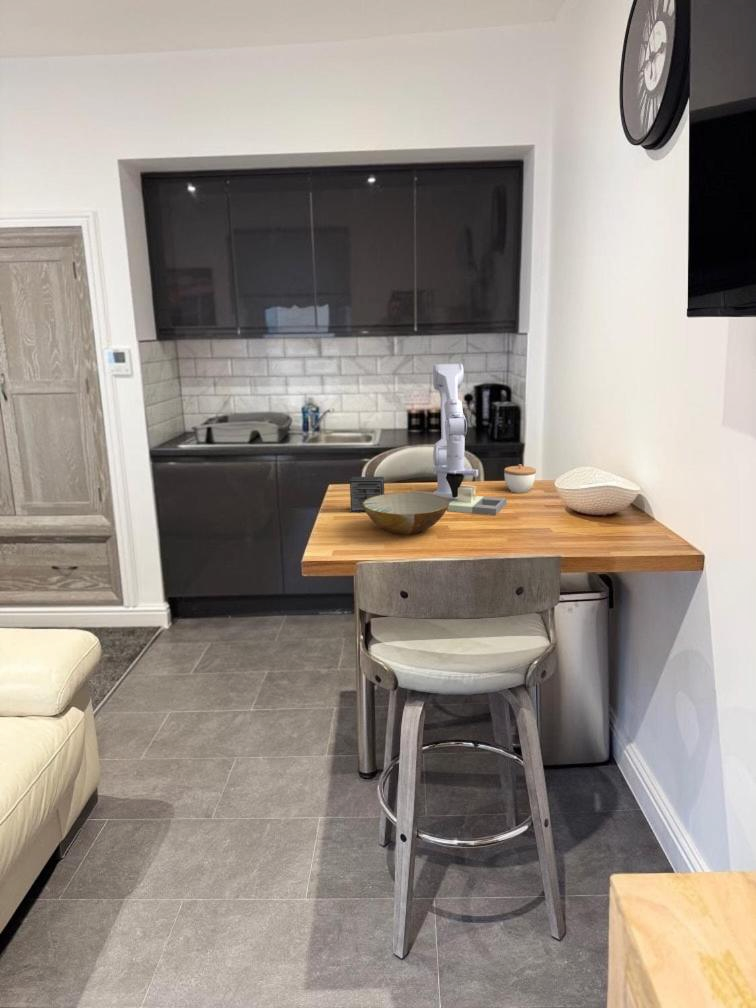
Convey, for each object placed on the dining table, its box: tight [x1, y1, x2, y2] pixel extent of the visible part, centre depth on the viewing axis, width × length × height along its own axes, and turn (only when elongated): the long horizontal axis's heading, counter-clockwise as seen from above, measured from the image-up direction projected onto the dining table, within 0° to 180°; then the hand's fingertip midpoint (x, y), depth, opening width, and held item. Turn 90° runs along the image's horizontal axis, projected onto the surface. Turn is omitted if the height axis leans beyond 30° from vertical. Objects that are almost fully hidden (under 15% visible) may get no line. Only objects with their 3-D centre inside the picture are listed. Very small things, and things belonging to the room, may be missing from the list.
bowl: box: [362, 491, 449, 536], centre depth 209 cm, size 25×25×8 cm
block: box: [458, 484, 476, 503], centre depth 232 cm, size 4×4×4 cm
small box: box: [349, 476, 385, 513], centre depth 230 cm, size 11×6×10 cm, turn 84°
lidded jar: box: [504, 463, 537, 494], centre depth 252 cm, size 11×11×9 cm
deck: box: [411, 490, 507, 516], centre depth 235 cm, size 14×32×2 cm, turn 67°
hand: (455, 496), depth 234 cm, fingers closed
